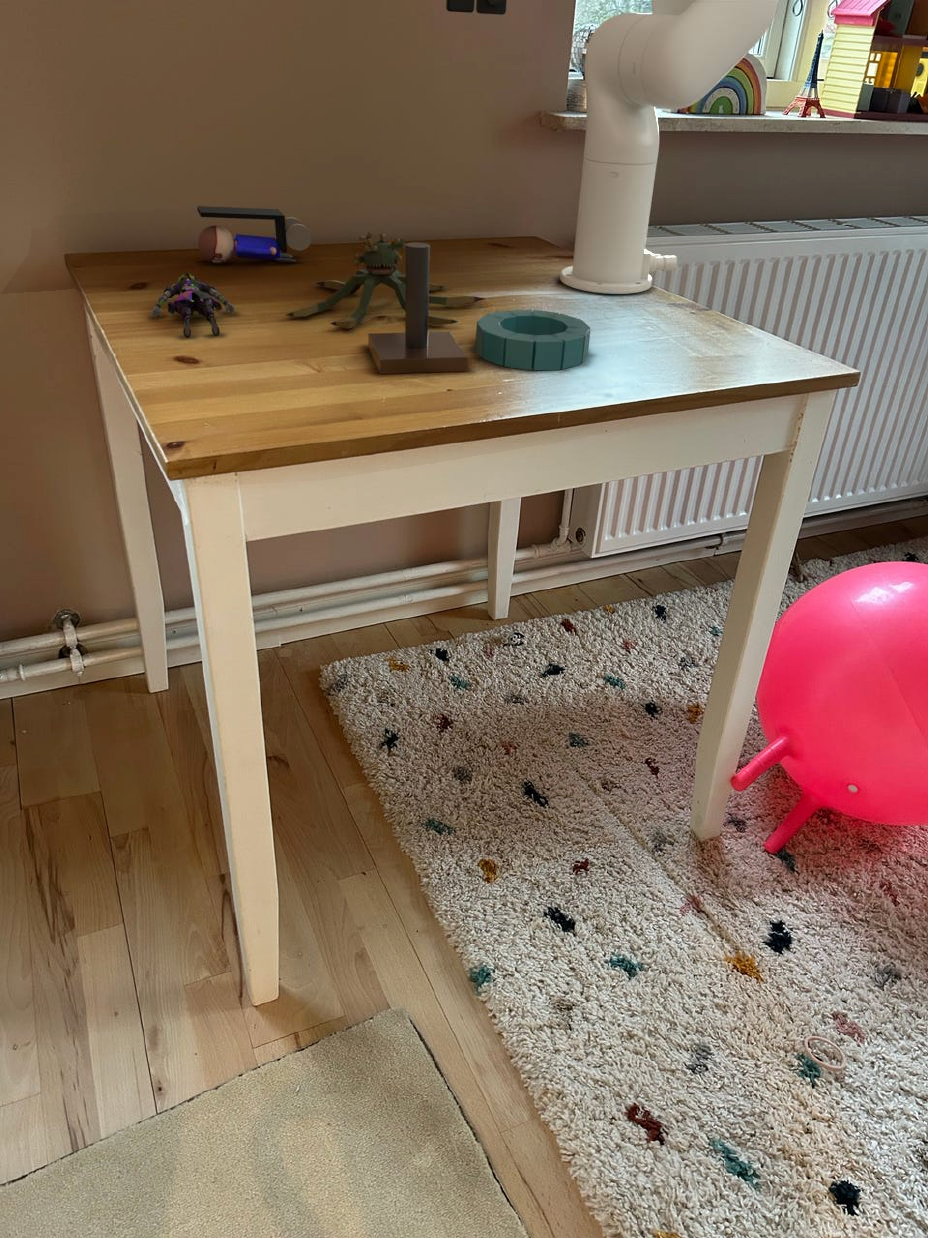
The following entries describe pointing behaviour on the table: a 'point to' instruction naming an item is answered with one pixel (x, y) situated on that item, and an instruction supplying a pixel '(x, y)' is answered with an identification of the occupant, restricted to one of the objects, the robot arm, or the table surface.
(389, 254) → the octopus toy
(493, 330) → the ring
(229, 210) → the figurine character
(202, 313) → the character figure
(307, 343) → the table surface
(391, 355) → the stand
